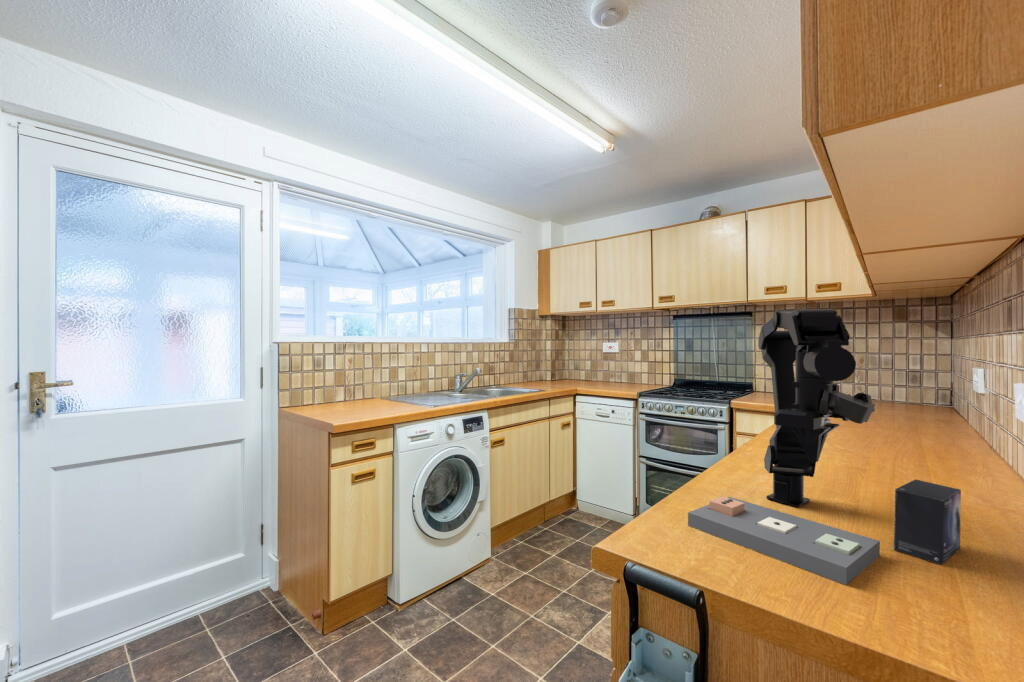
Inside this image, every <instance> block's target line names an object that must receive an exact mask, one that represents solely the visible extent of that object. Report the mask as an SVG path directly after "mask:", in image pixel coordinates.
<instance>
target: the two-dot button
mask: <svg viewBox="0 0 1024 682" xmlns="http://www.w3.org/2000/svg"><path fill="white" fill-rule="evenodd" d="M815 544H817V545H820V546H823V547H826V548H829V549H832V550H835V551H838V552H841V553H844V554H847V555H850V556H851V555H852V554H853V553H855V552H856V551H857V550H859V543H856V542H852V541H849V540H846V539H843V538H839V537H836V536H833V535H830V534H825V535H823V536H821V537H820V538H818V539H817V540H815Z"/></svg>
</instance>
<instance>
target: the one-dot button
mask: <svg viewBox="0 0 1024 682" xmlns="http://www.w3.org/2000/svg"><path fill="white" fill-rule="evenodd" d="M757 525H759V526H762V527H765V528H768V529H771V530H774V531H777V532H780V533H783V534H788V533H789V532H791V531H793V530H795V529H796V525H794V524H791V523H788V522H784V521H781V520H778V519H775V518H771V517H768V518H766V519H764V520H762V521H760V522H758V523H757Z"/></svg>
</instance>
